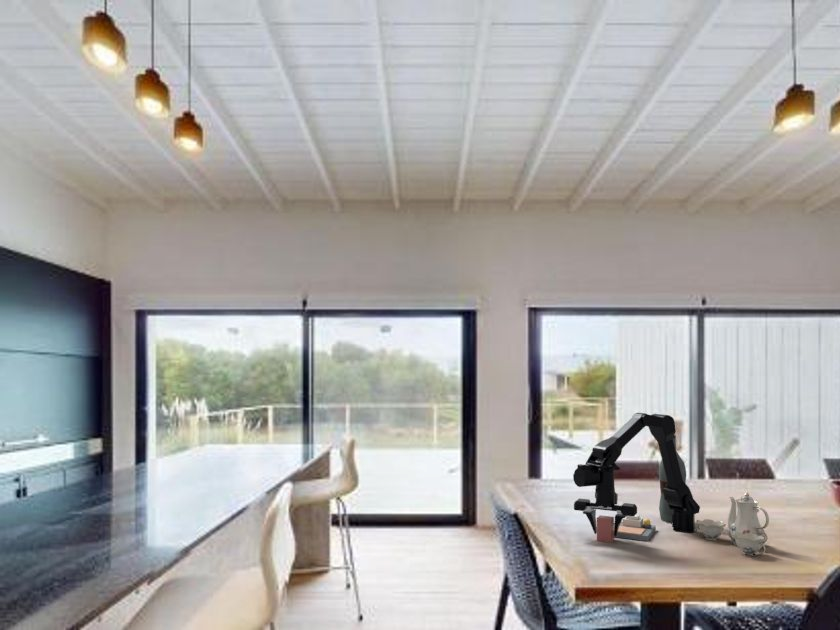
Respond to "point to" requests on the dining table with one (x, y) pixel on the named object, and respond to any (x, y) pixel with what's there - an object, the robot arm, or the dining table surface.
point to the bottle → (664, 507)
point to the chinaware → (740, 526)
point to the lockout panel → (635, 529)
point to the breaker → (633, 517)
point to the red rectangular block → (605, 528)
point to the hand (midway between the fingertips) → (605, 534)
